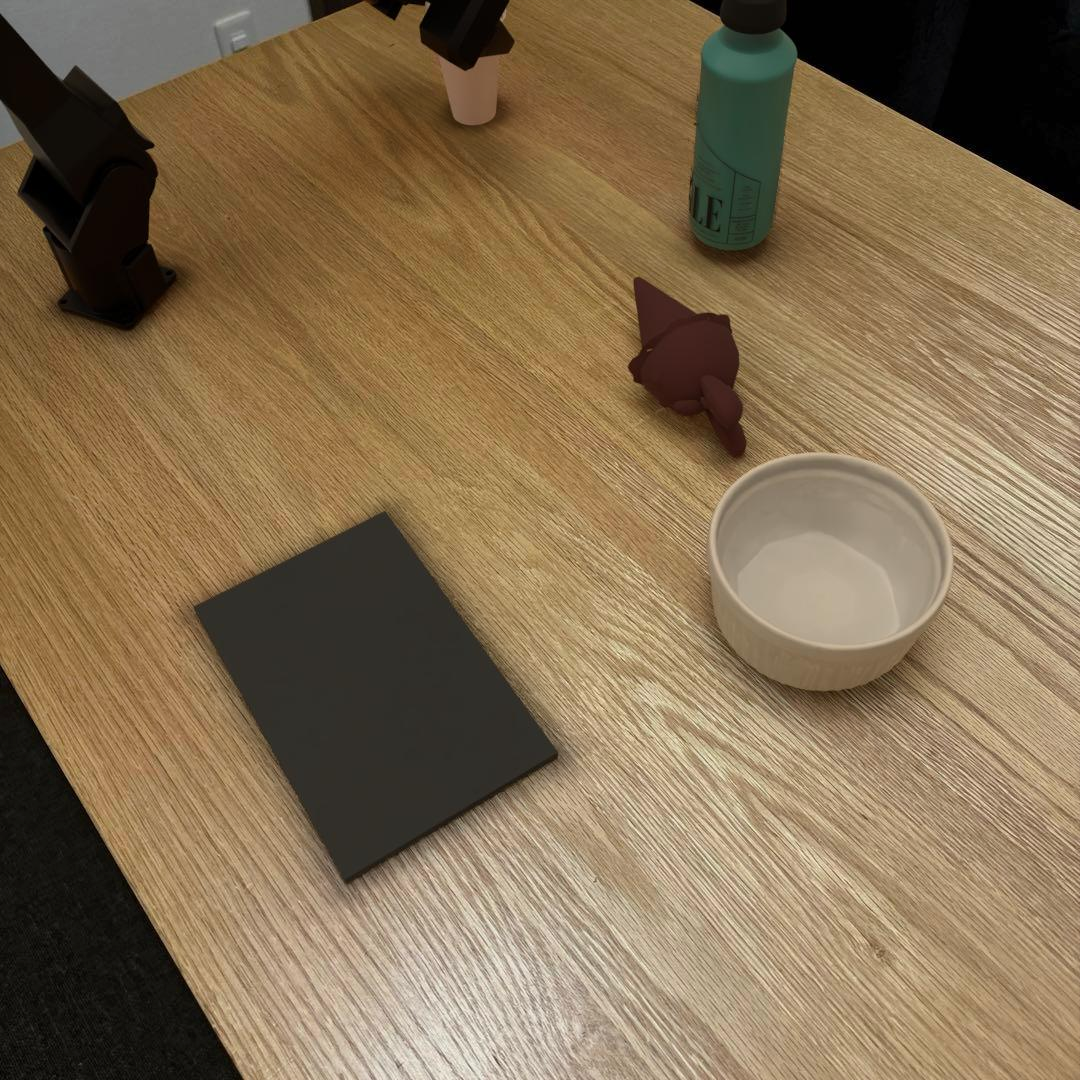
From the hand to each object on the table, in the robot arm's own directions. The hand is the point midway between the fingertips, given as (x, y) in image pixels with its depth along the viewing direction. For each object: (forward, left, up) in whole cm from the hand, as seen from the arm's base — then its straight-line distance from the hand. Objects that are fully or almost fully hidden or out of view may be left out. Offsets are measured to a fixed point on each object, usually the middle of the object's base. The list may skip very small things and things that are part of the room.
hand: (474, 23), depth 95 cm
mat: (+18, -53, -8) cm, 56 cm away
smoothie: (0, -1, -8) cm, 8 cm away
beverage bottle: (+25, -9, -8) cm, 27 cm away
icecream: (+27, -25, -8) cm, 37 cm away
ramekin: (+40, -39, -8) cm, 56 cm away
